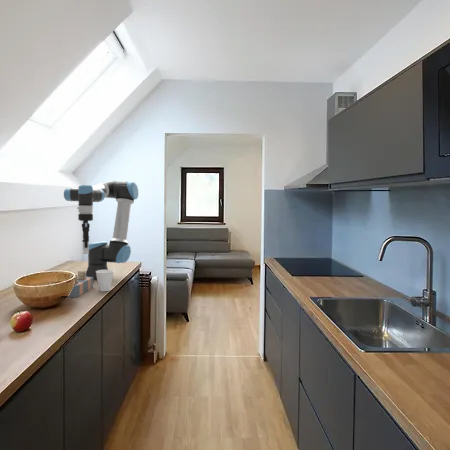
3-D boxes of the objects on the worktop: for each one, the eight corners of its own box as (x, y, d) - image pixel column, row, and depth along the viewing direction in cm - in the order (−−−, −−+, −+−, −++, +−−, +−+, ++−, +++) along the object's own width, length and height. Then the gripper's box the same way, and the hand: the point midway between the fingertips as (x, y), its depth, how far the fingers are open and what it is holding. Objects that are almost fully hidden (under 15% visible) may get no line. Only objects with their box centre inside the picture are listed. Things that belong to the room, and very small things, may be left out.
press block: (77, 286, 235) (77, 276, 234) (93, 287, 235) (93, 277, 234) (59, 296, 211) (59, 285, 210) (76, 297, 211) (77, 285, 210)
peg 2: (79, 281, 230) (79, 270, 230) (86, 281, 230) (86, 270, 230) (76, 282, 226) (76, 271, 226) (83, 282, 226) (83, 272, 226)
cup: (99, 293, 220) (99, 273, 220) (92, 289, 228) (92, 270, 227) (116, 291, 227) (116, 271, 226) (109, 287, 234) (109, 269, 234)
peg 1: (70, 285, 219) (71, 274, 218) (78, 285, 218) (78, 274, 218) (67, 287, 215) (67, 276, 214) (75, 287, 214) (75, 276, 214)
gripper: (78, 211, 231) (78, 248, 233) (78, 214, 208) (78, 255, 210) (91, 211, 234) (91, 248, 235) (93, 214, 210) (93, 255, 212)
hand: (85, 251), depth 222 cm, fingers open, 13 cm apart
